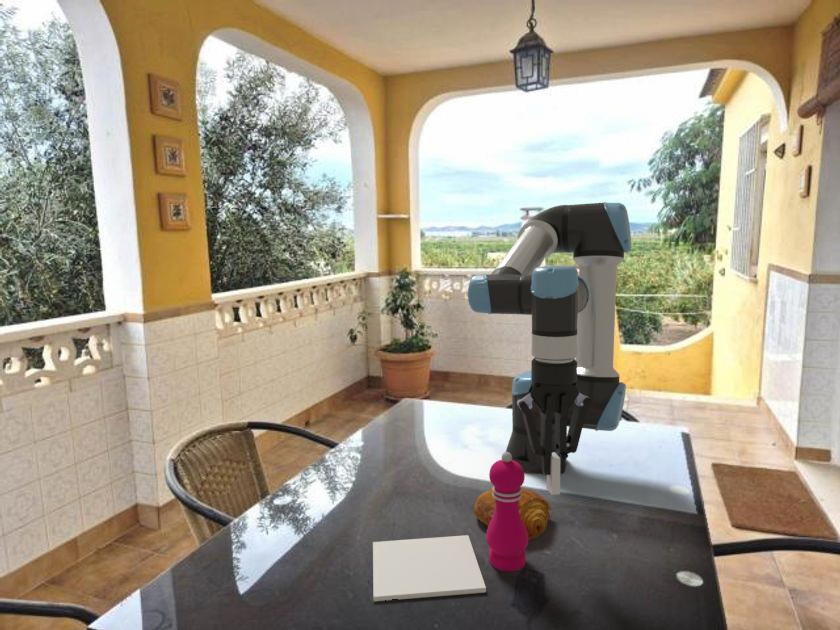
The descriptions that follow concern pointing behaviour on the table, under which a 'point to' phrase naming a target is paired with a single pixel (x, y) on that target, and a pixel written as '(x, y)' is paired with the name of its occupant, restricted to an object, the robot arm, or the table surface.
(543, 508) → the croissant
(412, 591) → the white mat
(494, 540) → the pepper mill
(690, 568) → the table surface
